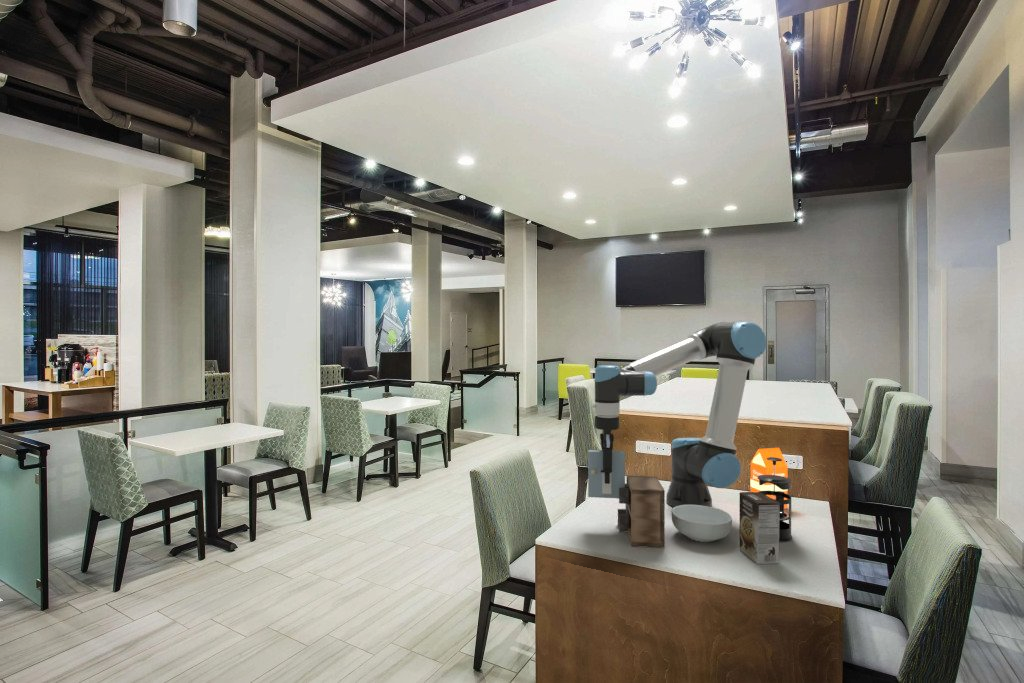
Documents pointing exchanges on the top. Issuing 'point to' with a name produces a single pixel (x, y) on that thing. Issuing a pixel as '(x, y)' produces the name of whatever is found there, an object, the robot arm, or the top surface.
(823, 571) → the top surface
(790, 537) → the french press
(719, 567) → the top surface
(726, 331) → the robot arm
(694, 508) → the cereal bowl
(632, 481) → the cabinet
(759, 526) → the coffee box
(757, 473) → the orange juice
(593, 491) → the door
